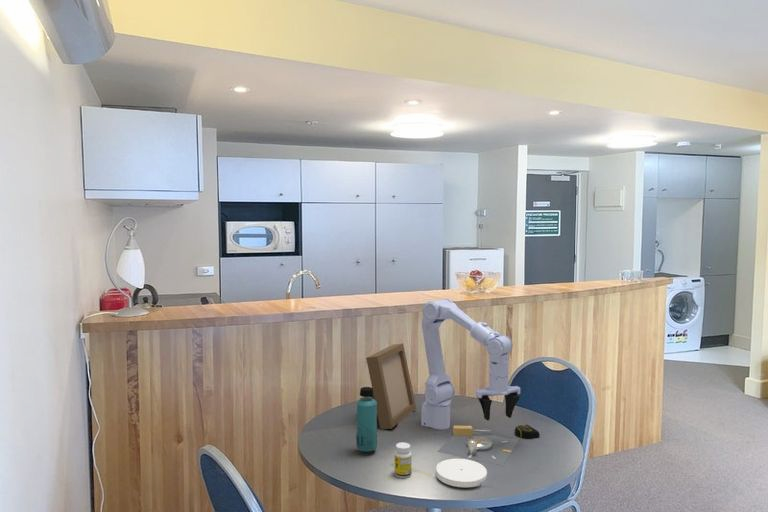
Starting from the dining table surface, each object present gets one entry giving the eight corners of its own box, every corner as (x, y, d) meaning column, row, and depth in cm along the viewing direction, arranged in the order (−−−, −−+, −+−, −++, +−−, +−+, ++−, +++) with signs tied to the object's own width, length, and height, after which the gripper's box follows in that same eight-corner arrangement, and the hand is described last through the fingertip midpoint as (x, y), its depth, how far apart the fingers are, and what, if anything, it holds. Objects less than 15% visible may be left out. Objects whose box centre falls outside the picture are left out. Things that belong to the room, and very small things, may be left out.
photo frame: (416, 411, 200) (417, 344, 199) (391, 431, 181) (392, 358, 179) (380, 405, 207) (381, 340, 205) (353, 424, 187) (353, 353, 186)
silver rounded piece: (470, 438, 172) (470, 425, 172) (495, 442, 168) (495, 430, 168) (458, 452, 161) (458, 439, 161) (484, 458, 158) (484, 444, 157)
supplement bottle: (393, 470, 152) (393, 441, 152) (410, 470, 153) (410, 441, 152) (395, 478, 147) (395, 449, 147) (412, 478, 148) (412, 448, 147)
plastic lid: (438, 464, 157) (439, 456, 157) (487, 469, 154) (487, 461, 154) (432, 487, 143) (432, 478, 143) (486, 493, 140) (486, 484, 140)
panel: (437, 455, 162) (437, 450, 162) (458, 432, 180) (458, 428, 180) (502, 469, 153) (502, 464, 153) (518, 444, 171) (518, 439, 171)
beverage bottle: (380, 449, 166) (380, 385, 165) (372, 458, 160) (373, 392, 159) (360, 446, 168) (360, 383, 167) (352, 454, 162) (352, 389, 161)
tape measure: (540, 441, 173) (540, 430, 173) (522, 444, 171) (522, 432, 171) (528, 433, 180) (528, 423, 180) (510, 436, 178) (510, 425, 178)
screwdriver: (454, 435, 175) (454, 428, 174) (453, 432, 177) (453, 425, 177) (491, 436, 174) (491, 429, 174) (490, 433, 177) (490, 426, 176)
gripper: (484, 380, 160) (483, 425, 161) (526, 376, 165) (525, 420, 166) (473, 374, 167) (472, 416, 168) (514, 370, 171) (512, 412, 172)
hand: (497, 417), depth 167 cm, fingers open, 7 cm apart
